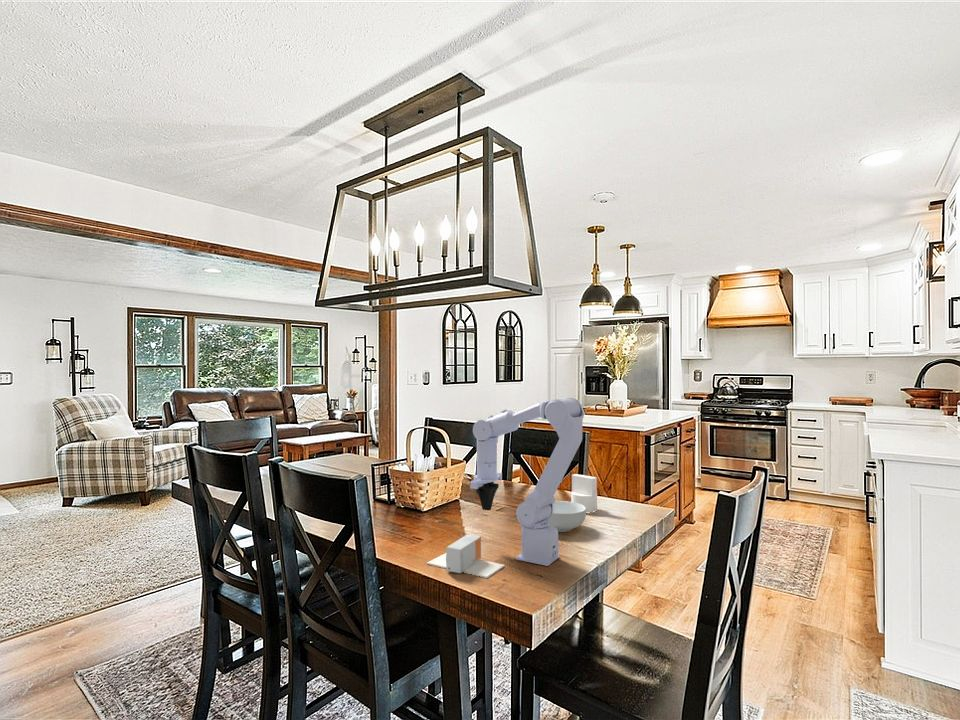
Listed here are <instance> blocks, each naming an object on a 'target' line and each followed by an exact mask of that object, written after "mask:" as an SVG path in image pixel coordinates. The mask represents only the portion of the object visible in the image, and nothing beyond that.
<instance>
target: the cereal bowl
mask: <svg viewBox="0 0 960 720" xmlns="http://www.w3.org/2000/svg"><path fill="white" fill-rule="evenodd" d="M586 516H587V515H586V507H585V506H583V505H581V504H578V503H574V502H571V501H567V500H555V502H554V505H553V513H552V516H551V517H550V518H549V526H551V527H553V528H556V529H557V531H558V533H568V532H570V531H572V530H573V529H575V528H578V527H580V526H581V525H582V524H583V523H584V522H585V520H586ZM567 531H568V532H567Z"/></svg>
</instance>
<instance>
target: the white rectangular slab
mask: <svg viewBox="0 0 960 720" xmlns="http://www.w3.org/2000/svg"><path fill="white" fill-rule="evenodd" d="M426 564H427V565H429V566H432V567H437V568H442V569H445V570H446V552H445V553H444V554H441V555H440V556H439V555H438V557H435V558H433V559H431V560H429V561H428V562H426ZM505 565H506V564H501V563H498V562H497V563H496V562H493V561H488V560H484V559H483V560H482V559H479V560H478V561H477V562H475V563H474V564H472V565H471V566H470V567H468V568H467V569H466V570H464V571H463V572H464V573H463V574H466V573H467V574H468V575H470V574H472V575H471V576H475V575H476V576H475V577H479V576H480V578H484V579H488V578H490V577H491V576H493V575H494V574H496V573H497V572H499V571H500V570H502V569H504V568H505ZM467 574H466V575H467Z"/></svg>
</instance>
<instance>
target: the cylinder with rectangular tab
mask: <svg viewBox="0 0 960 720" xmlns="http://www.w3.org/2000/svg"><path fill="white" fill-rule="evenodd" d="M597 481H598V479H597V477H596V476H591V475H590V476H589V475H586V474H585V475H584V474H578V473H574V474H572V475H571V493H570V494H571V495H570V496H571V500H570V502H574V503H578V504H581V505H583V506H585V507H586V512H593V511H595V510H597V511H598V494H597V493H598V492H597V491H598V490H597V488H598V487H597Z"/></svg>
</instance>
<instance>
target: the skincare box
mask: <svg viewBox="0 0 960 720" xmlns="http://www.w3.org/2000/svg"><path fill="white" fill-rule="evenodd" d="M445 549H446V550H445V551H446V552H445V553H446V569H445V570H446V572H451V573H455V574H462V572H463V571H464V570H466V569H467V568H468V567H470V566H471V565H472V564H474V563H475V562H477V561H478V560H482V536H481V535H476V534H470V533H468V534H465V535H464V536H461V538H459V539H457V540H456V541H454V542H453V543H451V544H449V545H448V546H446V548H445Z"/></svg>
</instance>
